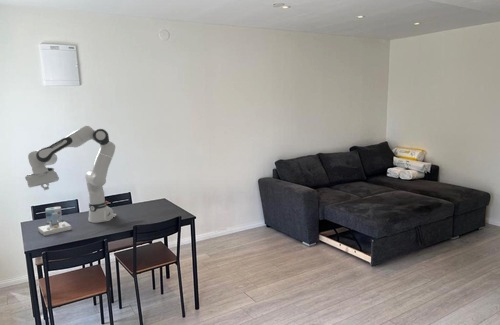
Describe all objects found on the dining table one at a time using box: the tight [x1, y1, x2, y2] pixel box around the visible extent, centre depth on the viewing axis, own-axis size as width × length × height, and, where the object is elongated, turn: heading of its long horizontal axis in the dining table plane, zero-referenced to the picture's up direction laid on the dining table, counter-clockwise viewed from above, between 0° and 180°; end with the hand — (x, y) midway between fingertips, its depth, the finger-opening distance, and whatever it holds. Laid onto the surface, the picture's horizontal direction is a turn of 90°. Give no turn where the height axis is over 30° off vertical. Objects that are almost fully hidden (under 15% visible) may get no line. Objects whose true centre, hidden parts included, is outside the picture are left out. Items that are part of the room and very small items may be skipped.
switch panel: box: [37, 220, 72, 236], centre depth 261 cm, size 13×18×6 cm
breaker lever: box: [51, 212, 57, 226], centre depth 260 cm, size 2×3×11 cm
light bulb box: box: [45, 206, 63, 225], centre depth 280 cm, size 11×7×11 cm, turn 122°
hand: (46, 189), depth 262 cm, fingers closed
